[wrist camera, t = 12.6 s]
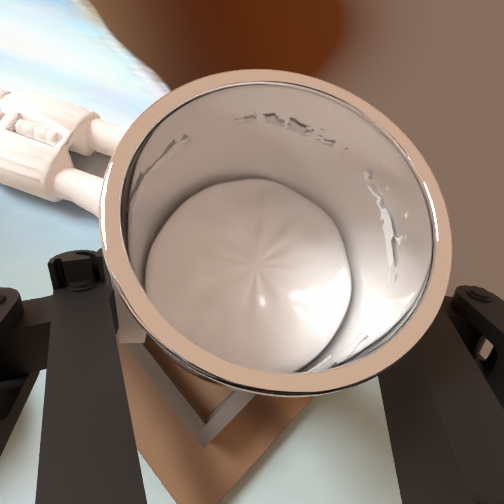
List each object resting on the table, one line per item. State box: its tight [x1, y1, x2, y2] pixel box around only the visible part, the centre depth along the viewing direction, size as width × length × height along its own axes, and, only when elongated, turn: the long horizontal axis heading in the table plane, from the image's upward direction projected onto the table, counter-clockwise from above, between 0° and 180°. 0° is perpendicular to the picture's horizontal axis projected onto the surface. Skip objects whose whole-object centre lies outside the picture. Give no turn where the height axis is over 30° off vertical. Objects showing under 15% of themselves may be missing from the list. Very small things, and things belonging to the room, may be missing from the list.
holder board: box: [116, 331, 313, 504], centre depth 26 cm, size 20×20×4 cm
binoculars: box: [0, 89, 129, 219], centre depth 29 cm, size 10×16×5 cm, turn 73°
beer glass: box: [99, 69, 452, 397], centre depth 13 cm, size 7×7×15 cm
